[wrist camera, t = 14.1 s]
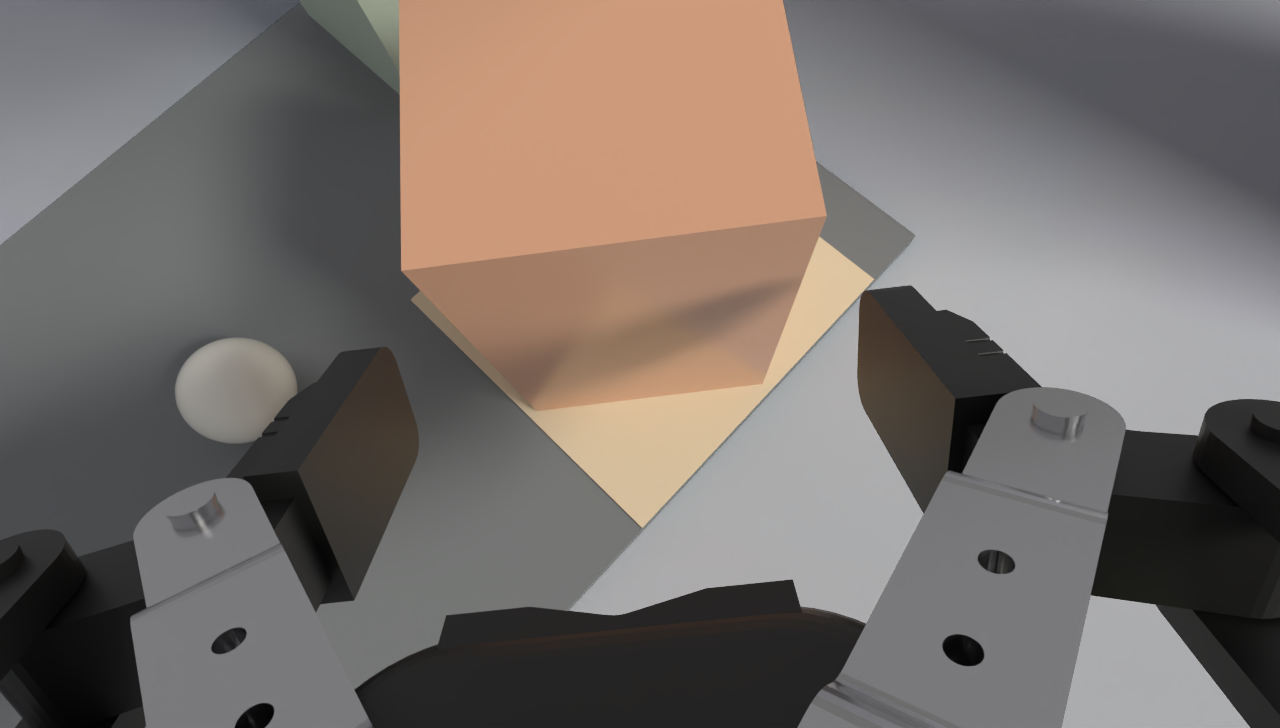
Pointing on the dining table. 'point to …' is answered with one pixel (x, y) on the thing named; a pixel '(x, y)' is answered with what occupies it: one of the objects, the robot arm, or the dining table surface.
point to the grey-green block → (364, 31)
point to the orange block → (607, 188)
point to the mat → (334, 350)
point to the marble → (234, 389)
